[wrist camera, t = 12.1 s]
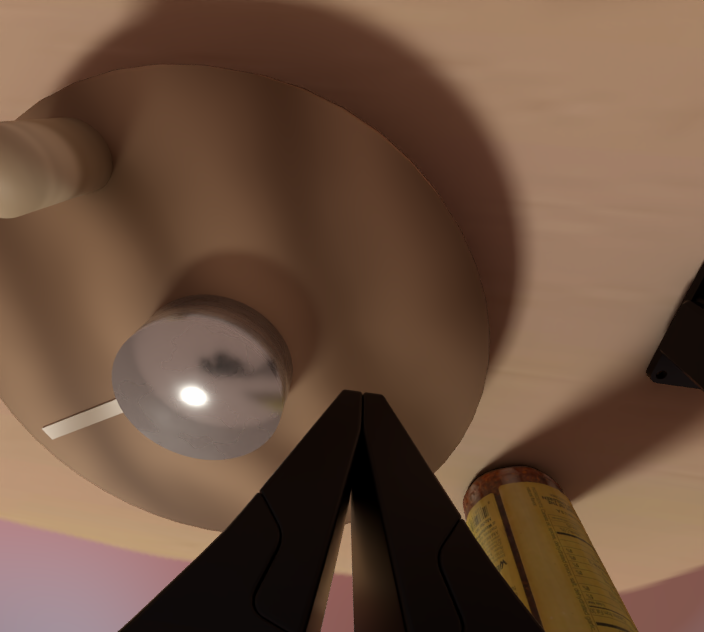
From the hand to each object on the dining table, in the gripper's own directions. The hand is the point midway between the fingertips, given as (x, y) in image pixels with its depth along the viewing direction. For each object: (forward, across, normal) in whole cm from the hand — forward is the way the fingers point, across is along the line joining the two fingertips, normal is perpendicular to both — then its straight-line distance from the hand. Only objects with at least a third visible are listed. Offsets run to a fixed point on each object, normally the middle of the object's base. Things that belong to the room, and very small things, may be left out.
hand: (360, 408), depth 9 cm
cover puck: (+9, +6, +6) cm, 13 cm away
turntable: (+11, +6, +6) cm, 14 cm away
